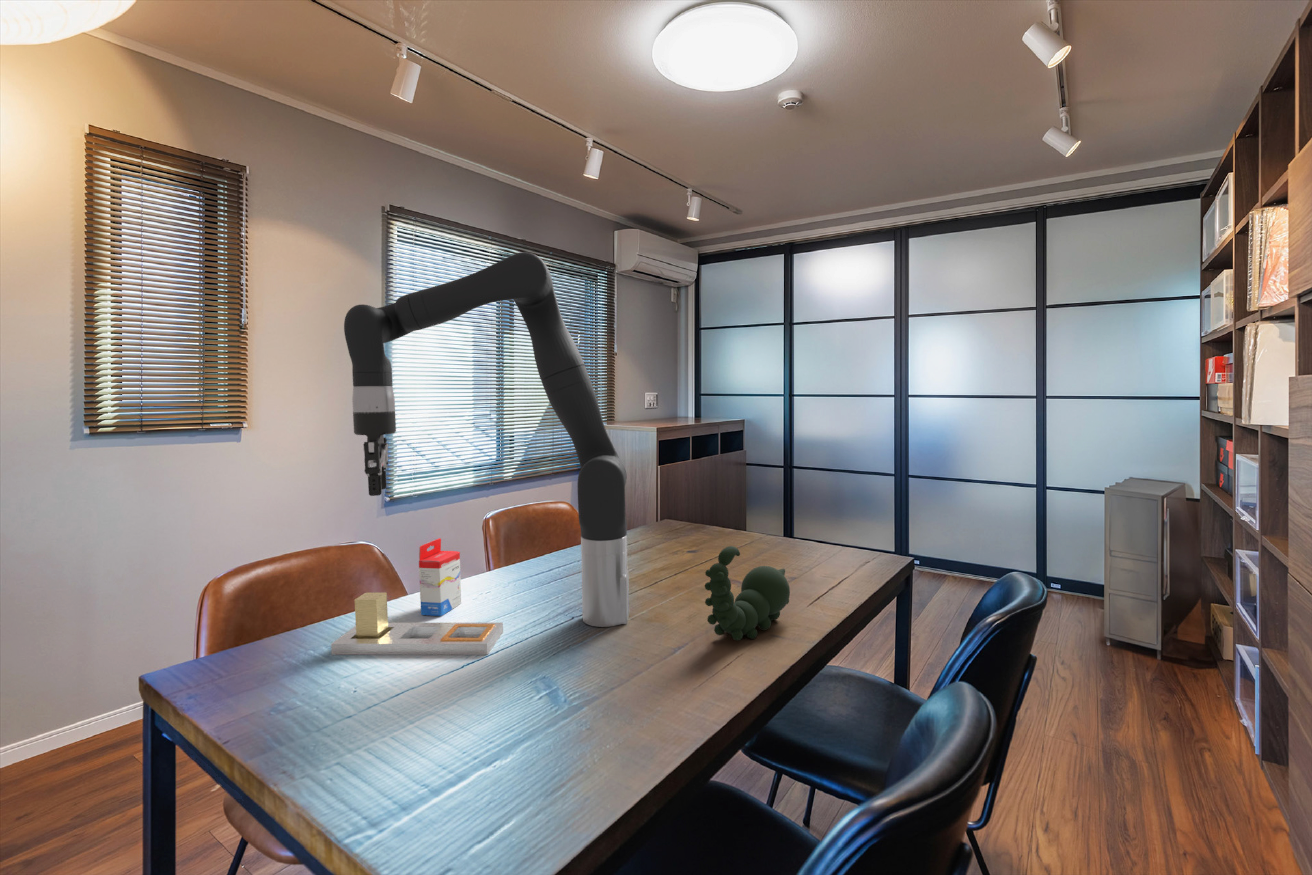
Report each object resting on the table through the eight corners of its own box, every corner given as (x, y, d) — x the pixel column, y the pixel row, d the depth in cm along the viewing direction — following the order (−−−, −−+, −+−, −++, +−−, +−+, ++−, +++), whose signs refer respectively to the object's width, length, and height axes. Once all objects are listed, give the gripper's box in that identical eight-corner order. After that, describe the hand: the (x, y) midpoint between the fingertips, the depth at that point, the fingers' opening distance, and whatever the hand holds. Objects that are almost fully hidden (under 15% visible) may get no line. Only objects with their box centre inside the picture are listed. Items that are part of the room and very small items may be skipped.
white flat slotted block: (503, 632, 118) (502, 621, 118) (487, 654, 108) (486, 642, 108) (360, 632, 119) (359, 621, 119) (331, 654, 109) (331, 642, 109)
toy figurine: (739, 664, 107) (806, 612, 125) (733, 560, 104) (803, 522, 123) (696, 650, 113) (766, 602, 131) (689, 551, 110) (762, 516, 129)
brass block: (388, 639, 116) (386, 592, 115) (378, 647, 112) (376, 599, 111) (367, 639, 116) (365, 592, 115) (356, 647, 112) (354, 599, 111)
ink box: (441, 617, 127) (438, 547, 126) (420, 615, 128) (417, 546, 127) (462, 603, 135) (460, 537, 134) (442, 602, 136) (439, 537, 135)
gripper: (391, 410, 114) (395, 496, 115) (398, 408, 128) (401, 486, 129) (346, 411, 112) (351, 499, 113) (358, 409, 125) (362, 488, 127)
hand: (378, 492), depth 121 cm, fingers open, 8 cm apart
